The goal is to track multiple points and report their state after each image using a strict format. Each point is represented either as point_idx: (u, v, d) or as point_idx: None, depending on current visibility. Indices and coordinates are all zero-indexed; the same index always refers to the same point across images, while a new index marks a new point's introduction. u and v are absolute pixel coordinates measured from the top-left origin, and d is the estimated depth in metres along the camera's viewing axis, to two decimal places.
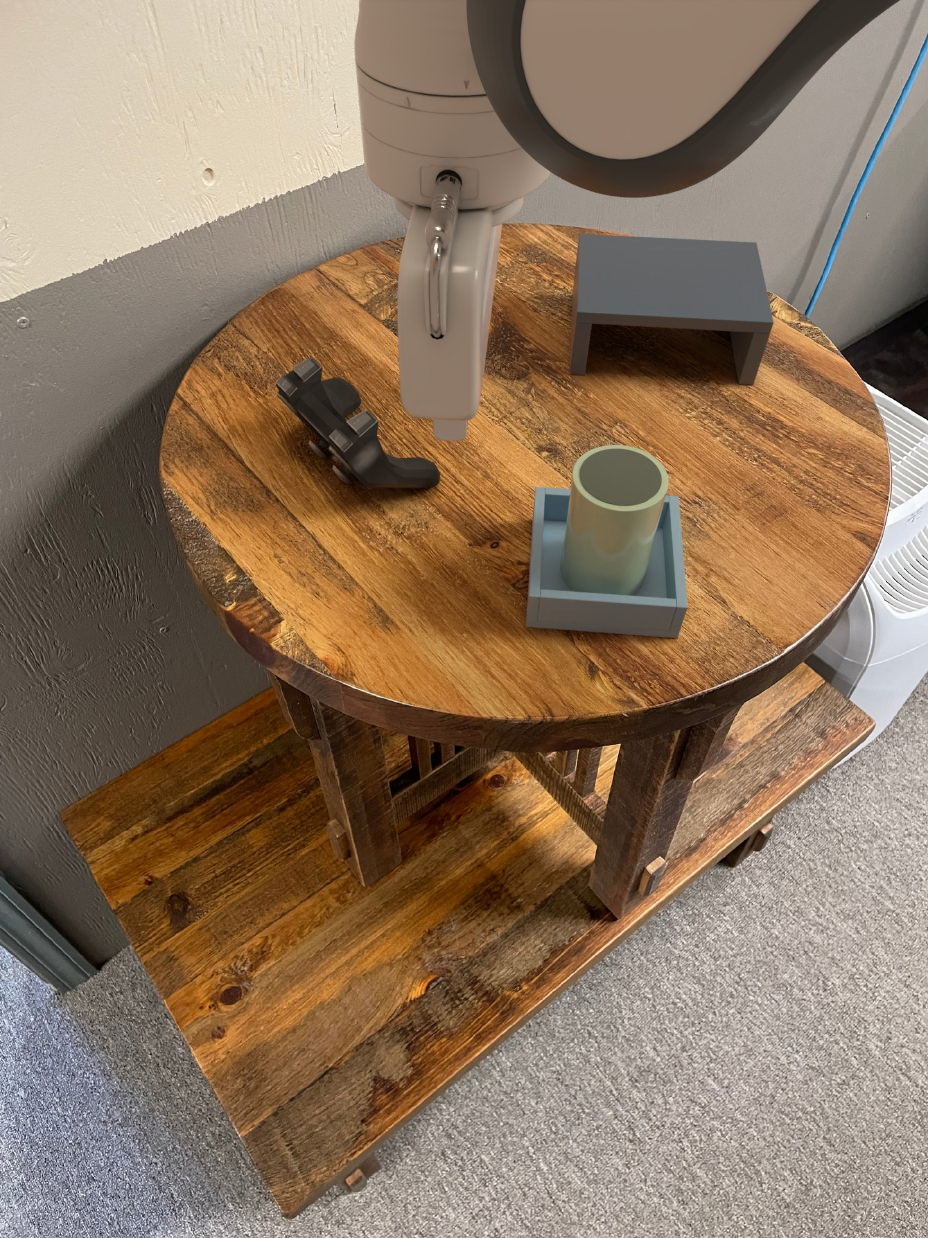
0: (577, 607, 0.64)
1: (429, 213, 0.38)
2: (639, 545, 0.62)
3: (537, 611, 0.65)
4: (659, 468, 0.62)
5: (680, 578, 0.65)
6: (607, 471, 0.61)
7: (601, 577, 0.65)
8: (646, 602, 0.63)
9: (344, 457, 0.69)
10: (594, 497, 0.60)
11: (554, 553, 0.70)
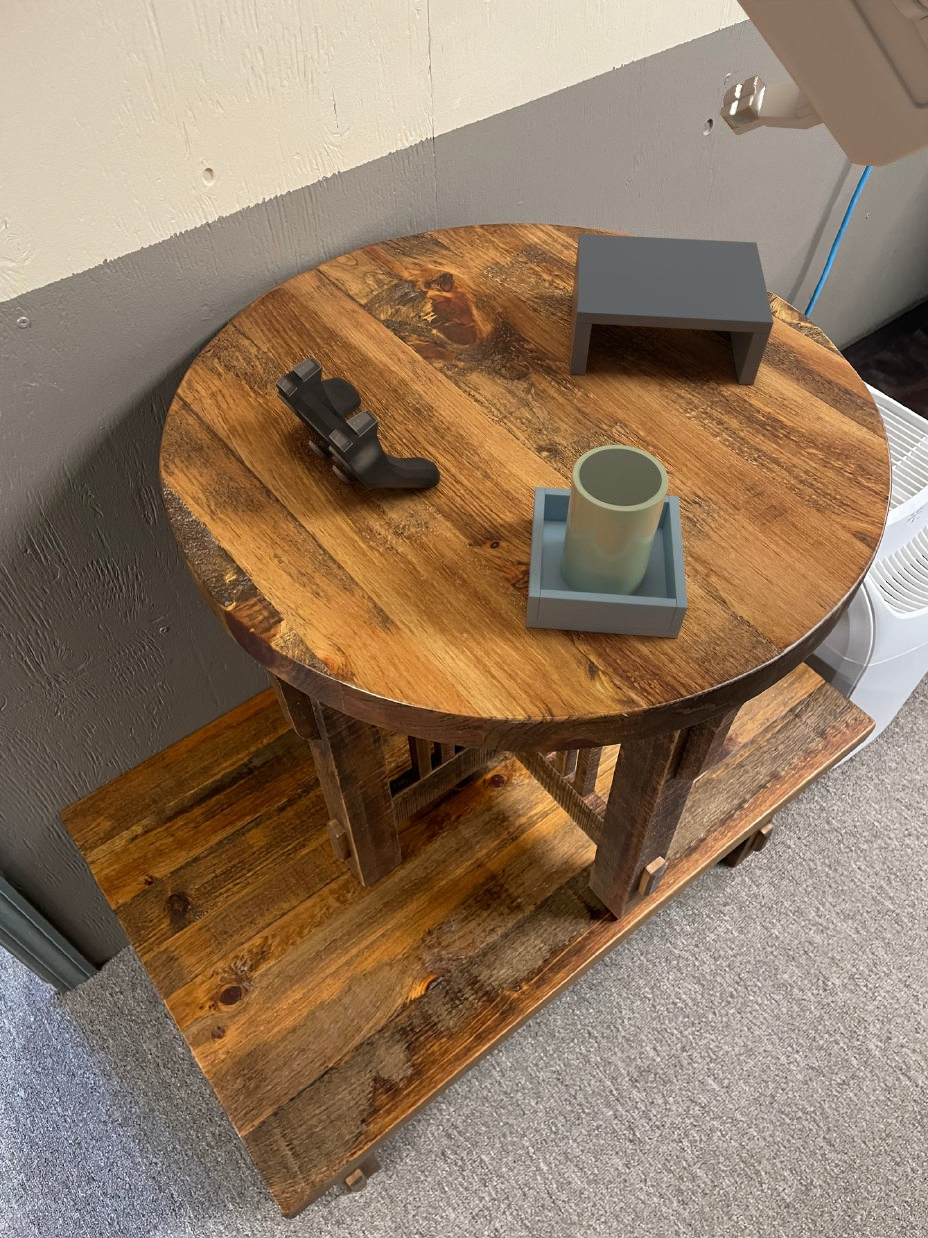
0: (577, 607, 0.64)
1: None
2: (639, 545, 0.62)
3: (537, 611, 0.65)
4: (659, 468, 0.62)
5: (680, 578, 0.65)
6: (607, 471, 0.61)
7: (601, 577, 0.65)
8: (646, 602, 0.63)
9: (344, 457, 0.69)
10: (594, 497, 0.60)
11: (554, 553, 0.70)
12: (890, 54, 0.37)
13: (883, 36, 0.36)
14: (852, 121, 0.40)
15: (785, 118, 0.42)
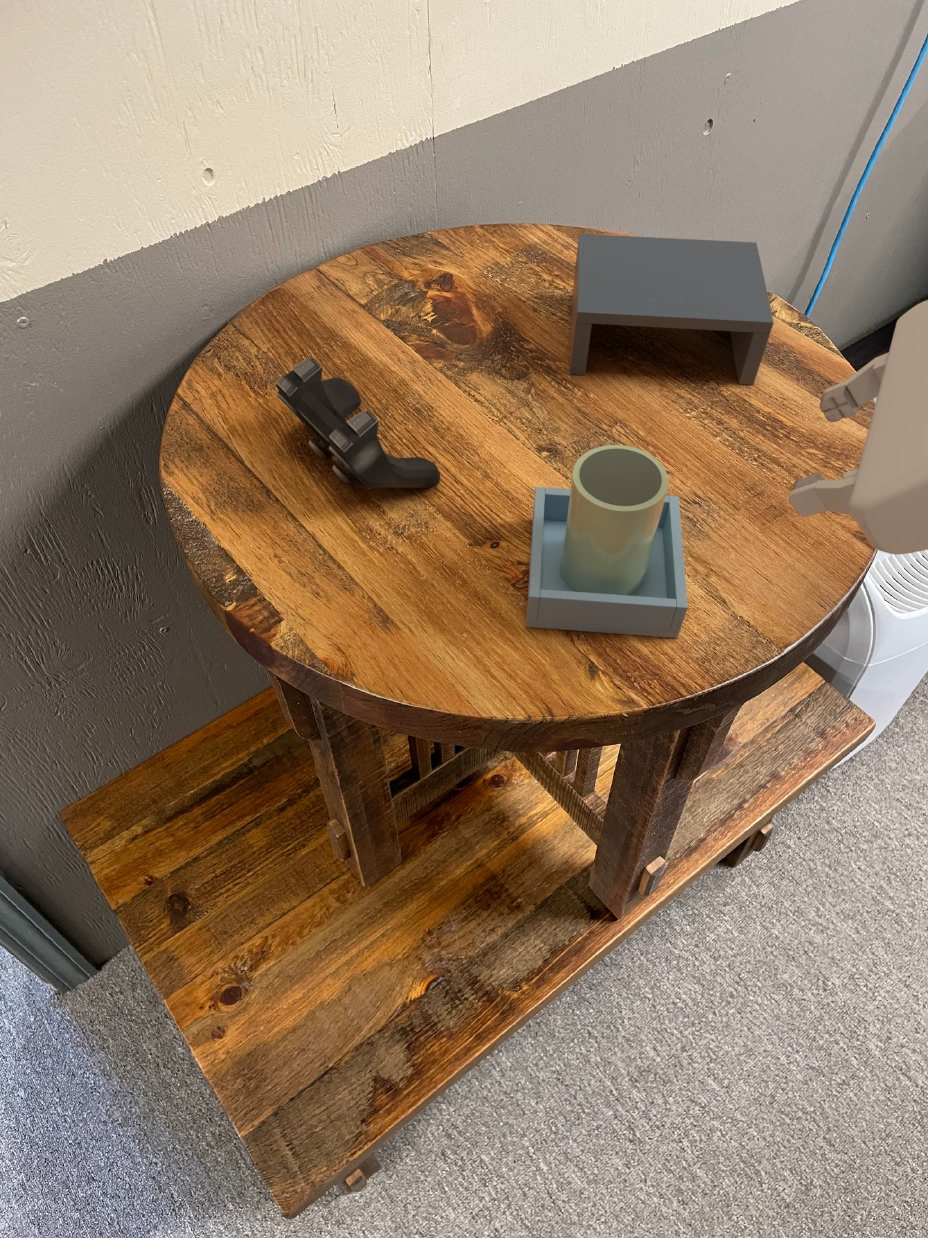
0: (577, 607, 0.64)
1: None
2: (639, 545, 0.62)
3: (537, 611, 0.65)
4: (659, 468, 0.62)
5: (680, 578, 0.65)
6: (607, 471, 0.61)
7: (601, 577, 0.65)
8: (646, 602, 0.63)
9: (344, 457, 0.69)
10: (594, 497, 0.60)
11: (554, 553, 0.70)
12: None
13: None
14: None
15: None
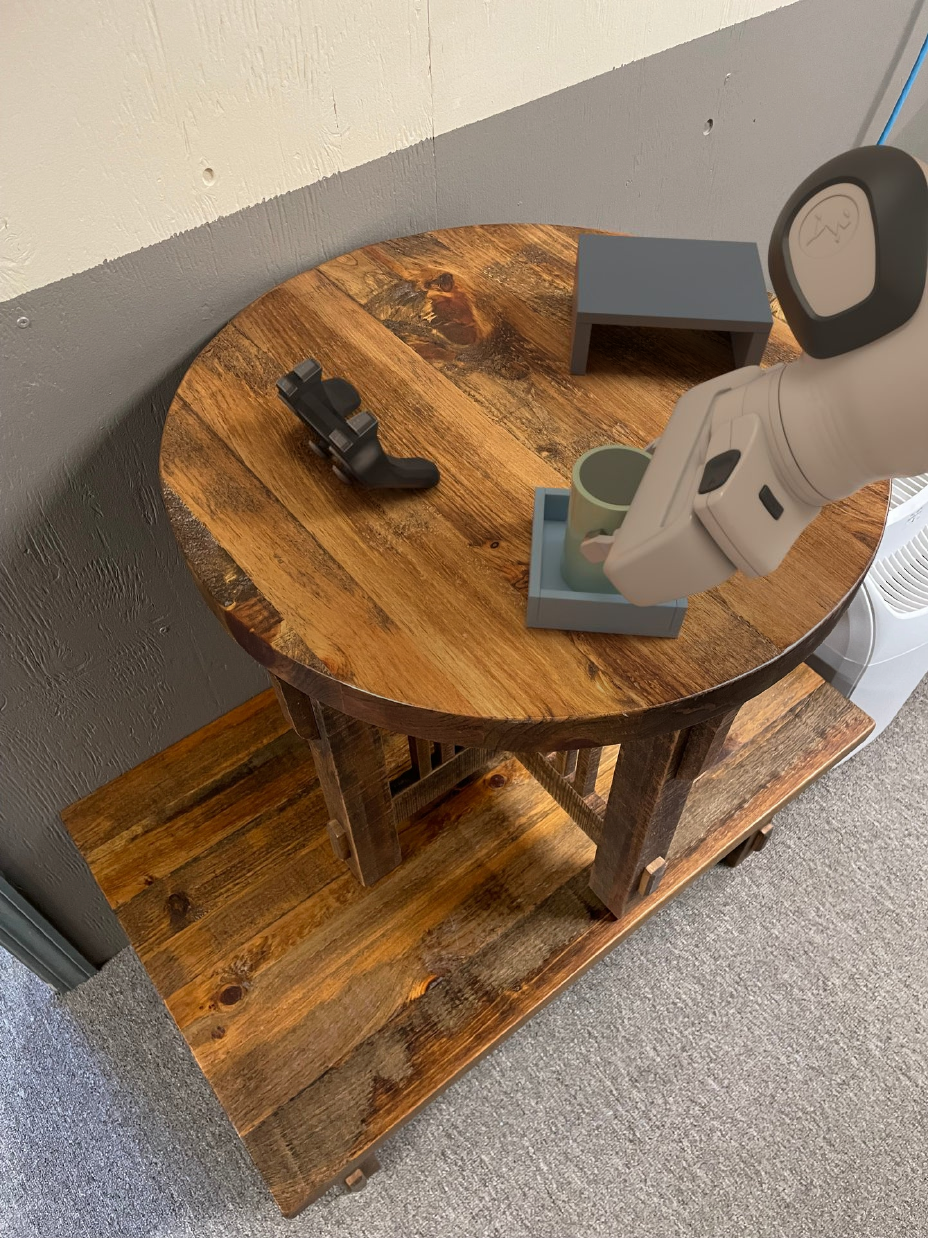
0: (577, 607, 0.64)
1: None
2: None
3: (537, 611, 0.65)
4: None
5: None
6: (607, 471, 0.61)
7: (601, 577, 0.65)
8: None
9: (344, 457, 0.69)
10: (594, 497, 0.60)
11: (554, 553, 0.70)
12: None
13: None
14: None
15: None
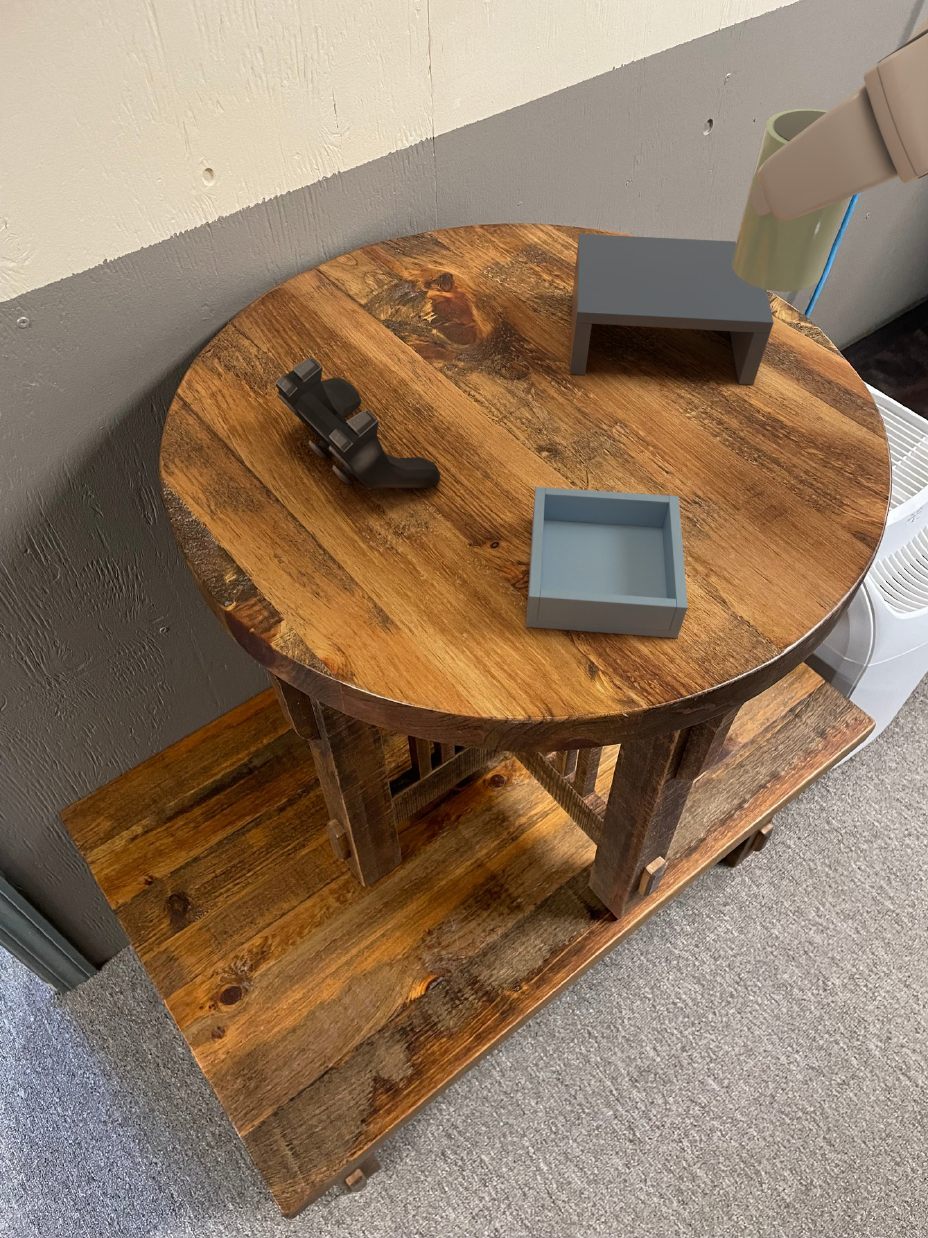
0: (577, 607, 0.64)
1: None
2: (814, 211, 0.60)
3: (537, 611, 0.65)
4: None
5: (680, 578, 0.65)
6: (805, 124, 0.59)
7: (766, 250, 0.63)
8: (646, 602, 0.63)
9: (344, 457, 0.69)
10: (781, 136, 0.58)
11: (554, 553, 0.70)
12: None
13: None
14: None
15: None
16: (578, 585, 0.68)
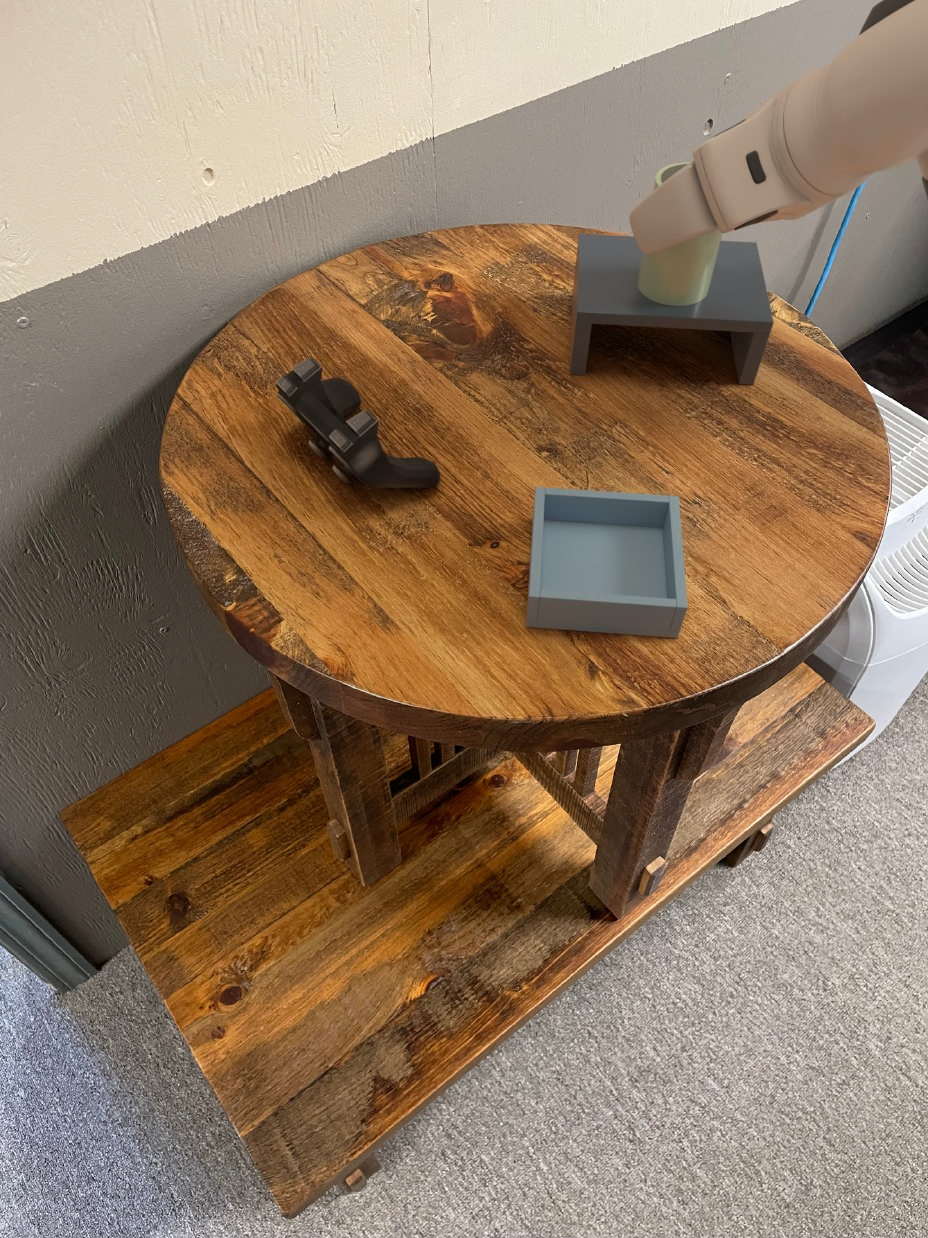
0: (577, 607, 0.64)
1: None
2: (690, 244, 0.76)
3: (537, 611, 0.65)
4: None
5: (680, 578, 0.65)
6: None
7: (657, 272, 0.79)
8: (646, 602, 0.63)
9: (344, 457, 0.69)
10: None
11: (554, 553, 0.70)
12: None
13: None
14: None
15: None
16: (578, 585, 0.68)
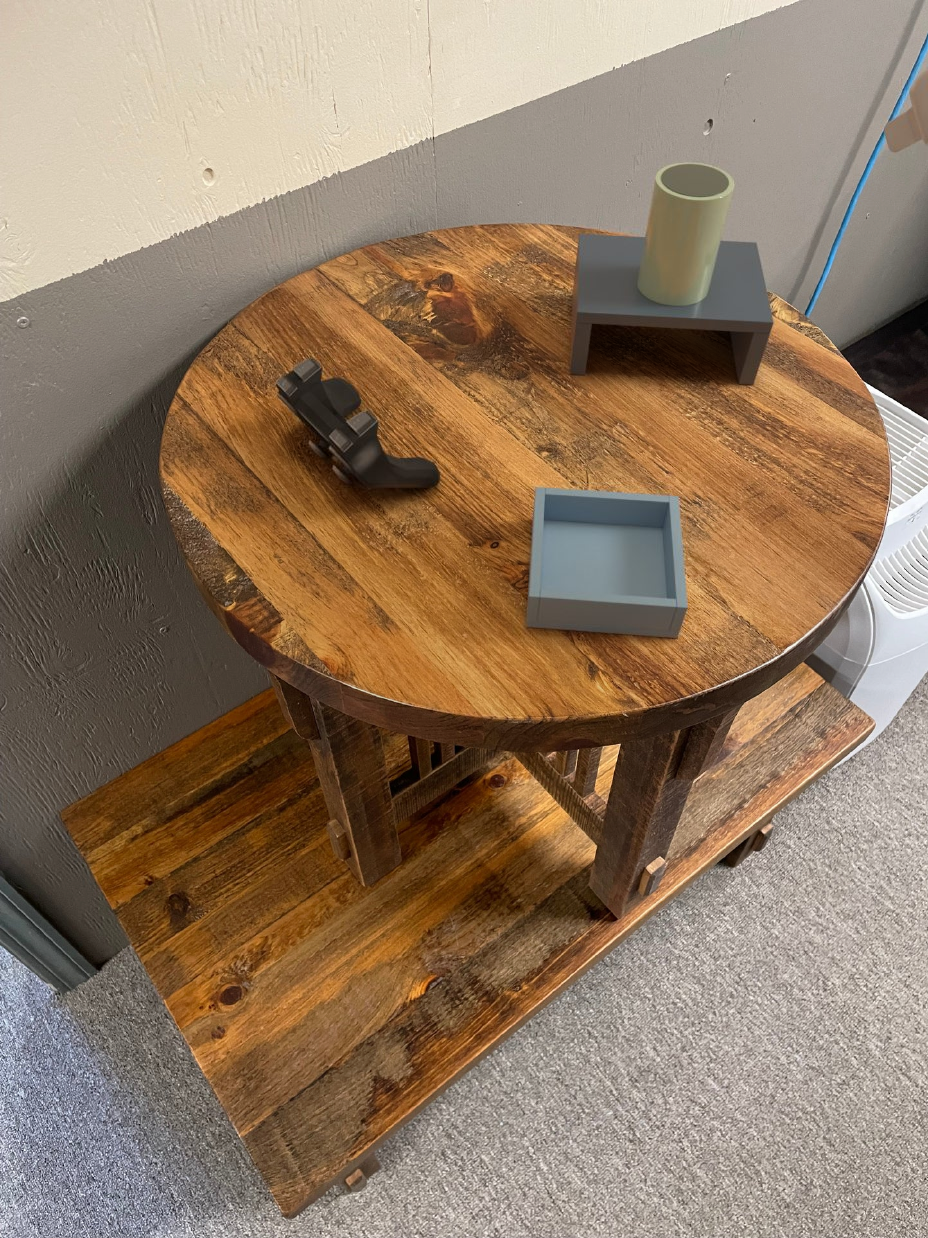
0: (577, 607, 0.64)
1: None
2: (690, 244, 0.76)
3: (537, 611, 0.65)
4: (729, 184, 0.74)
5: (680, 578, 0.65)
6: (687, 175, 0.75)
7: (657, 272, 0.79)
8: (646, 602, 0.63)
9: (344, 457, 0.69)
10: (664, 184, 0.74)
11: (554, 553, 0.70)
12: None
13: None
14: None
15: None
16: (578, 585, 0.68)
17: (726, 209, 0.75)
